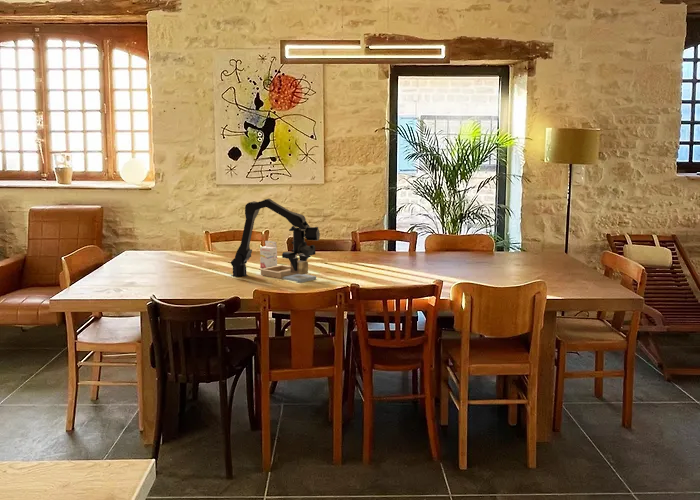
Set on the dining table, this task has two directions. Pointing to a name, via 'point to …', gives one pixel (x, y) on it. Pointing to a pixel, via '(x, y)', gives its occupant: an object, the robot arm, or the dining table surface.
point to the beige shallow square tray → (277, 271)
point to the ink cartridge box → (268, 255)
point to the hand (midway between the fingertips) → (299, 270)
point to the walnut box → (300, 267)
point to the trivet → (300, 277)
